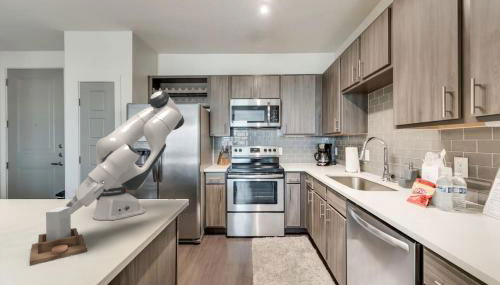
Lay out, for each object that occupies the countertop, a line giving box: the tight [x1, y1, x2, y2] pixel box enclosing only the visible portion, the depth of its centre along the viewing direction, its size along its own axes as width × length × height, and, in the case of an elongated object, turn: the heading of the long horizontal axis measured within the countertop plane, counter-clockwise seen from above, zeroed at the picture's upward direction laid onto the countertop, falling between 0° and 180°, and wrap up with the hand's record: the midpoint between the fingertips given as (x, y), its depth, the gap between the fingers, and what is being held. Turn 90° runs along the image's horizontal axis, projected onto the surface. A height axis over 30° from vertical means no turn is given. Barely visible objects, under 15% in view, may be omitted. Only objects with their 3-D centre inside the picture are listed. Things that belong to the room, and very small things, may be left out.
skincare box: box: [45, 206, 72, 242], centre depth 83 cm, size 6×4×12 cm
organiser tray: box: [29, 227, 88, 266], centre depth 81 cm, size 14×16×4 cm
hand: (68, 209), depth 85 cm, fingers open, 8 cm apart
